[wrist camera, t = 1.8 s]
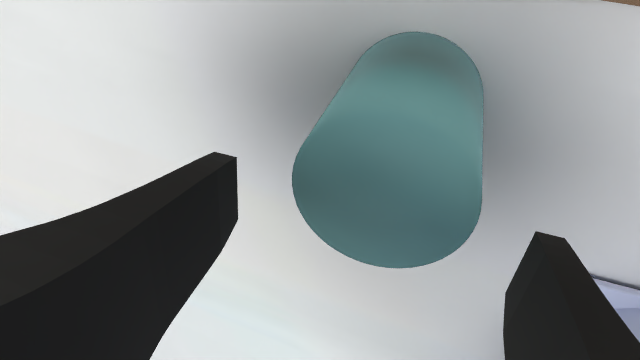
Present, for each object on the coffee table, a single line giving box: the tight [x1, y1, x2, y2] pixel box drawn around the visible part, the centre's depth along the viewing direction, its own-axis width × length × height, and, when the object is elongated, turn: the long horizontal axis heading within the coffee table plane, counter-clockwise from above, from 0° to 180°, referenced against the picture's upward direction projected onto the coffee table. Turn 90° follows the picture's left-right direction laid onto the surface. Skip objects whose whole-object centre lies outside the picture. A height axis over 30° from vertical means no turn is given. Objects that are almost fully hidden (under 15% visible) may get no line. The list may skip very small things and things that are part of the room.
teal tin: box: [292, 32, 483, 268], centre depth 15 cm, size 5×5×6 cm
